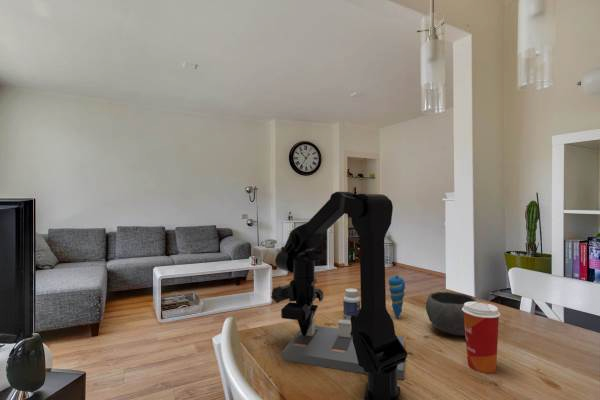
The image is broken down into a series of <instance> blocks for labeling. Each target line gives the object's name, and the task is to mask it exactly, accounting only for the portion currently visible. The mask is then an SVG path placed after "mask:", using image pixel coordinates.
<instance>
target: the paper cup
mask: <svg viewBox="0 0 600 400" xmlns="http://www.w3.org/2000/svg"><path fill="white" fill-rule="evenodd" d="M462 311H464V324H465V335H464V336H465V345H466V346H465V347H466V349H465V350H466V358H467V359H466V360H467V365H468V367H469V368H470V369H472V370H473V371H476V372H478V373H482V374H494V373H495V372H496V370H497V361H498V341H499V320H500V319H499V317H501V313H500V312H499V308H498V307H497V306H495V304H490V303H486V302H479V301H478V302H466V303H464V307H463V308H462Z"/></svg>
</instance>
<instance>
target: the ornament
mask: <svg viewBox="0 0 600 400" xmlns="http://www.w3.org/2000/svg"><path fill="white" fill-rule="evenodd" d="M388 285H389V293H390V300H391V301H392V304H391V308H392V310H393V314H394V316H395V319H399V317H400V315H401V313H402V311H403V304H404V297H405V290H406V284H405V280H404V278H403V277H400V276H399V274H398V273H396V274H395V276H391V277H390V278H389V279H388Z"/></svg>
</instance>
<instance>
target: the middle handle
mask: <svg viewBox="0 0 600 400" xmlns="http://www.w3.org/2000/svg"><path fill="white" fill-rule="evenodd" d="M337 325H338V328H339V336H340V337H348V338H351V335H350V333H351V321H348V320H344V319H339V320H338V323H337Z"/></svg>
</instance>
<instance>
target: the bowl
mask: <svg viewBox="0 0 600 400" xmlns="http://www.w3.org/2000/svg"><path fill="white" fill-rule="evenodd" d="M466 302H478V303H479V301H478V300H477V299H476V298H474V297H473V296H472V295H468V294H466V293H465V294H464V293H458V292H450V291H436V292H433V293H430V294H428V297H427V299H426V302H425V310H426V315H427V317H428V319H429V321H430V323H432V325H433V326H435V327H436V328H437V329H438V330H440V331H441V332H444V333H447V334H450V335H455V336H465V324H464V311H462V308H463V307H464V303H466Z"/></svg>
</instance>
